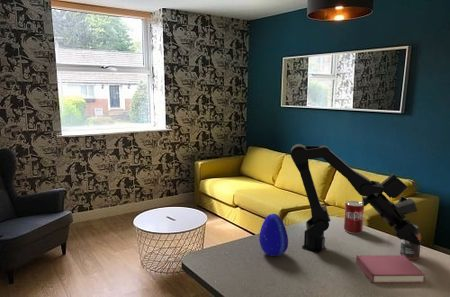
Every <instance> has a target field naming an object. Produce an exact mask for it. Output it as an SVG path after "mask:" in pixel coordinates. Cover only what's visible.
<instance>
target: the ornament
mask: <svg viewBox="0 0 450 297" xmlns="http://www.w3.org/2000/svg"><path fill="white" fill-rule="evenodd" d="M258 237H259V239H258V240H259V246H260V248H261V250H262V251H263V252H264V253H265V254H266V255H267V256H270V257H278V256H281V255H283V254H284V253H286V251H287V250H288V246H289V237H288V232H287V229H286V226H285V224H284V221H283V220H282V218H281V217H280V216H279V215H278V214H276V213H271V214H268V215H267V216H266V217H265V219H264V221H263V222H262V225H261V228H260V230H259V236H258Z"/></svg>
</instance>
